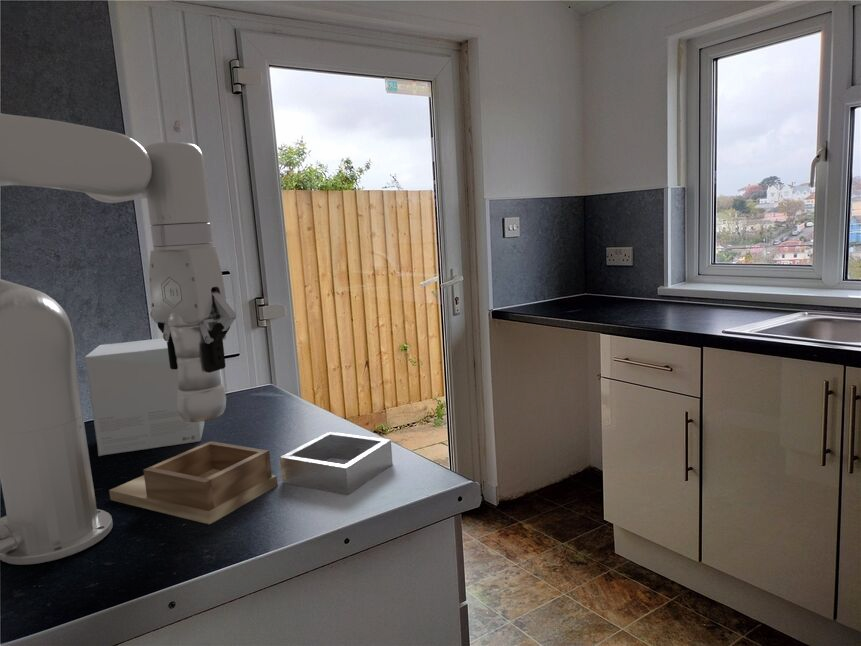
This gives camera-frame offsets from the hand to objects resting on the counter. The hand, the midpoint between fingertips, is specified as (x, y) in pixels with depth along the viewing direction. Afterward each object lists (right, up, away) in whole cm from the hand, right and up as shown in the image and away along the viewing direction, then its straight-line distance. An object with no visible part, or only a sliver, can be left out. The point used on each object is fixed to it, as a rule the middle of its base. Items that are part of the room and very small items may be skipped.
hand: (197, 367), depth 87 cm
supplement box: (-19, -16, +31) cm, 40 cm away
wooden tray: (-2, -19, +5) cm, 19 cm away
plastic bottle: (0, -8, +1) cm, 8 cm away
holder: (+18, -17, +9) cm, 26 cm away
